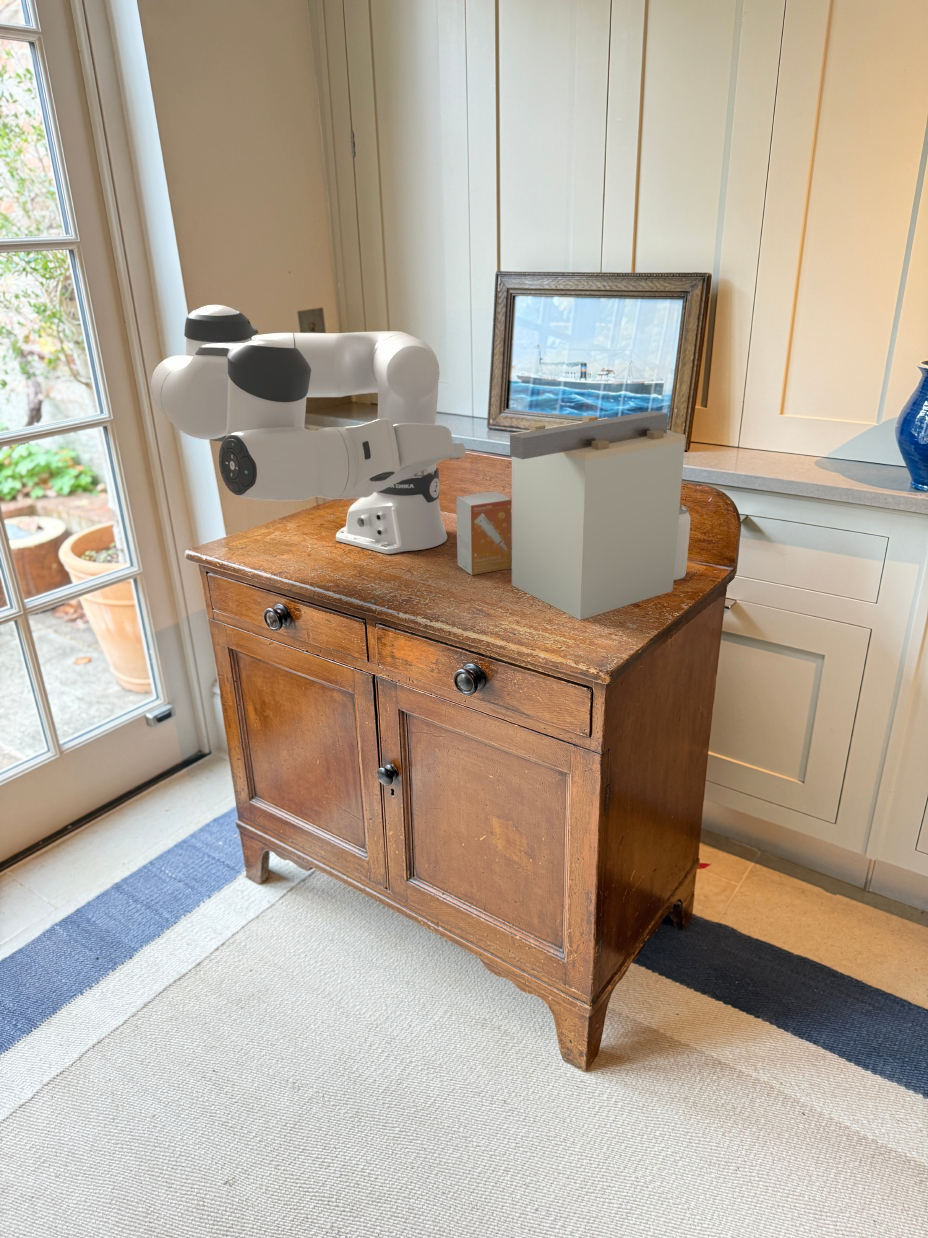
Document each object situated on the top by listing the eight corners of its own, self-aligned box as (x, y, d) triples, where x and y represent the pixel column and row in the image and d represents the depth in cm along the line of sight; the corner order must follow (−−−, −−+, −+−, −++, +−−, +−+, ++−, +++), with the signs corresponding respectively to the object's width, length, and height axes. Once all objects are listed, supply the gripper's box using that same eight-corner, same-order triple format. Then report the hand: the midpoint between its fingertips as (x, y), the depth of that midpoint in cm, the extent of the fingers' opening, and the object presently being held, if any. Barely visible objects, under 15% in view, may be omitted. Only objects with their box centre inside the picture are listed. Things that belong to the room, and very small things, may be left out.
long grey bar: (522, 459, 118) (522, 437, 117) (509, 455, 121) (509, 434, 119) (666, 432, 132) (668, 413, 131) (653, 429, 134) (654, 410, 133)
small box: (471, 576, 149) (470, 505, 144) (457, 565, 154) (455, 496, 149) (512, 568, 152) (512, 498, 147) (496, 558, 157) (496, 489, 152)
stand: (580, 620, 131) (586, 446, 120) (511, 585, 145) (511, 427, 134) (672, 591, 141) (686, 428, 130) (600, 560, 155) (607, 411, 144)
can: (688, 571, 149) (694, 505, 144) (681, 583, 144) (687, 516, 139) (652, 566, 151) (656, 501, 146) (643, 579, 146) (648, 512, 141)
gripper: (321, 505, 115) (407, 501, 123) (396, 466, 98) (490, 464, 106) (314, 460, 115) (400, 458, 123) (387, 413, 99) (481, 415, 107)
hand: (442, 460), depth 115 cm, fingers open, 8 cm apart
